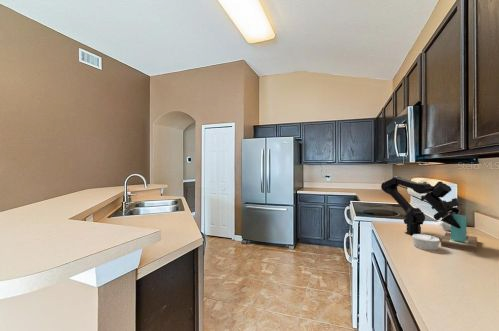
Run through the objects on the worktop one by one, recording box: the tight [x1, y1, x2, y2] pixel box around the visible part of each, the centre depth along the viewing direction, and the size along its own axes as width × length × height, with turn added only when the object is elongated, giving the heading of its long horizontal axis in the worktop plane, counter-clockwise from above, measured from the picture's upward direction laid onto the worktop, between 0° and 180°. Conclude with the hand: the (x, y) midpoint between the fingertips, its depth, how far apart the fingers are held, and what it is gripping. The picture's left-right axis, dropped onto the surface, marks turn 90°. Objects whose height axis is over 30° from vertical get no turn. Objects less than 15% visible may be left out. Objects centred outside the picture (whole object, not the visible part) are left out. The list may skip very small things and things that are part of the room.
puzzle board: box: [440, 231, 478, 253], centre depth 125 cm, size 22×13×3 cm, turn 135°
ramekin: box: [411, 233, 441, 252], centre depth 120 cm, size 11×11×5 cm
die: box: [439, 220, 451, 232], centre depth 150 cm, size 8×9×10 cm
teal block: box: [450, 213, 467, 242], centre depth 121 cm, size 4×4×12 cm
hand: (461, 227), depth 120 cm, fingers closed on teal block, 5 cm apart
